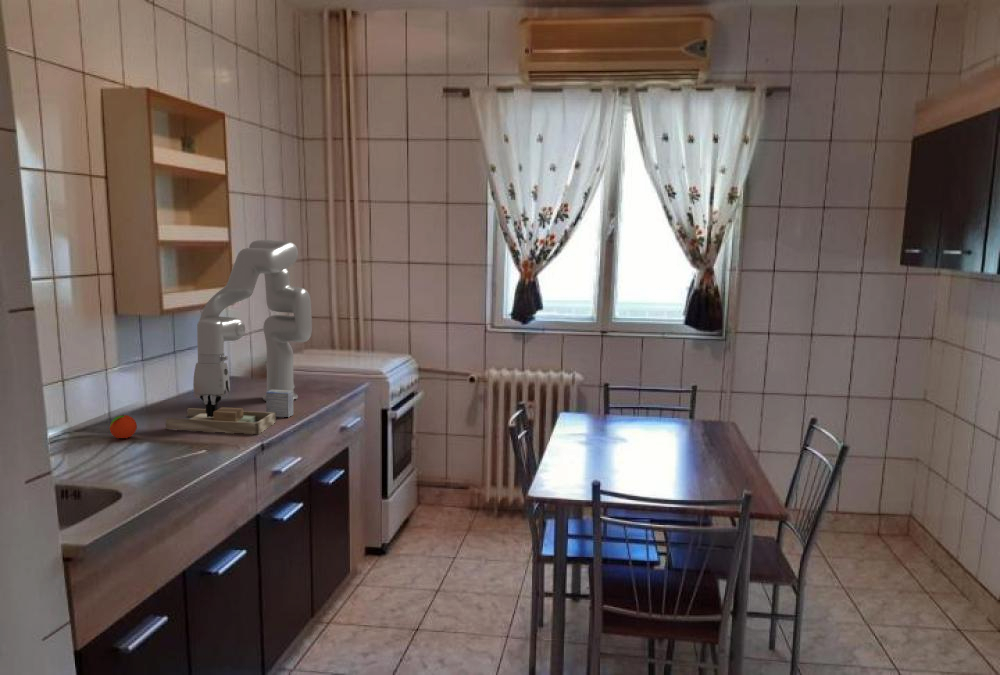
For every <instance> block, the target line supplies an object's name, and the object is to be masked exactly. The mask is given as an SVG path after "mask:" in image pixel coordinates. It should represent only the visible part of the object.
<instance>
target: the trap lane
mask: <svg viewBox="0 0 1000 675" xmlns="http://www.w3.org/2000/svg"><path fill="white" fill-rule="evenodd" d="M186 412H187V416H185V417H183V418H173V417H171V418H170V417H166V418H165V430H166V429H177V430H192V431H191V432H196V431H203V432H202V433H215V432H225V433H224V434H234V433H244V434H243V435H253V434H258V435H260V434H261V432H262V433H264V432H265V431H266V430H267V428H268V429H269V428H271V427H272V426H273V425H275V424H276V422H277V421H276V420H277V417H276V413H275V412H266V411H253V410H251V411H250V410H243V418H242V419H240V420H238V421H237V422H234V421H214V420H213V417H207V414H206V408H192V407H191V408H190V407H189V408H187V411H186ZM274 423H275V424H274ZM271 425H272V426H271ZM177 430H176V431H177ZM264 430H265V431H264ZM258 435H257V436H258Z"/></svg>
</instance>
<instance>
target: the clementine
mask: <svg viewBox="0 0 1000 675" xmlns="http://www.w3.org/2000/svg"><path fill="white" fill-rule="evenodd" d="M137 429H138V425H137V421H136V419H135V418H133V417H132V416H130V415H127V414H122V415H117V416H116V417H114V418H113V419H112V421H111V422H110V425H109V431H110V433H111V435H112V436H113V437H115V438H116V439H119V438H126V439H128V437H129V438H131V437H132V436H133V435H134V434H135V433H136V431H137Z"/></svg>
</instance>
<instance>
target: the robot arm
mask: <svg viewBox="0 0 1000 675" xmlns="http://www.w3.org/2000/svg"><path fill="white" fill-rule="evenodd" d="M298 257H299V251H298V247H297V246H296V244H295V243H293V242H292V241H288V240H269V239H258V240H253V241H252V242H251V243H250V244H249V246H248V248H247V247H246V248H243V249H241V250H239V251H238V254H237V256H236V258H235V261H234V263H233V266H232V269H231V272H230V275H229V278H228V280H227V283H226V284H225V286H224V287H222V288H221V289H220V290H218V291H217V292H216V293H215V294H214V295H212V297H211V298H210V299H209V300H207V302H206V303H205V305H204V307H203V309H202V312H201V315H200V318H199V321H198V322H197V327H196V328H197V329H196V333H197V334H196V335H197V336H196V337H197V339H196V341H197V362H196V363H195V368H194V371H193V382H192V383H193V384H192V385H193V387H192V389H193V392H194V394H193V396H194V397H195V398H198V399H201V400H202V402H203V403H204V405H205V409H206V414H207V417H213V412H214V411H216V410H218V403H220V401H221V400H226V399H227V398H229V396H230V395H229V393H230V391H231V383H230V381H231V380H230V373H229V368H228V363H227V362H226V361H228V360H229V357H228V356H227V355H225V352H224V351H225V350H224V348H225V347H224V346H225V345H224V344H225V343H224V342H228V341H229V342H234V341H238V340H240V339H241V338H242V337H243V336H244V335H245V333H246V325H245V324H244V322H243V320H242V319H239V318H236V317H230V316H228V317H227V316H220V315H221V313H222V312H223V311H224V310H225V309H227V307H229V306H232V305H233V304H236V303H239V302H242V301H243V300H246V299H248V298H250V297H252V295H253V294H254V290H255V287H256V285H257V281H258V279H259V276H260V274H263V275H264V281H265V284H264V286H265V299H266V300H265V301H266V306H267V308H268V309H269V310H270V311H272V312H277V313H288V314H291V313H292V314H293V315H287V314H286V315H284V314H283V315H282V314H274V315H270V316H268V317H267V318H266V319H265V320H264V323H263V326H262V328H263V335H264V339H265V344H266V346H265V347H266V392H268V391H269V390H290V391H293V401H295V400H294V399H296V400H297V399H298V398H299V395H298V394H297V393H295V392H294V389H295V387H296V386H295V384H294V350H293V347H292V345H291V344H290V342H291V343H306V342H307V341H309V340H310V338H311V337H312V333H313V319H312V316H313V315H312V301H311V300H312V299H311V295H310V293H309V292H308V289H306V288H303V287H300V286H291V282H290V272H289V269H288V268H289V267H291V266H293V265H294V264H296V262H297V260H298ZM262 400H263V401H265V402H266V393H265V394H263V395H262Z"/></svg>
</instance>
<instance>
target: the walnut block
mask: <svg viewBox="0 0 1000 675" xmlns="http://www.w3.org/2000/svg"><path fill="white" fill-rule="evenodd" d="M243 411H244V408H242V407H223V406H221V407H219V408H217V410H216V411H214V412H213V420H214V421H234V422H237V421H238V420H240V419H242V418H243Z"/></svg>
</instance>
